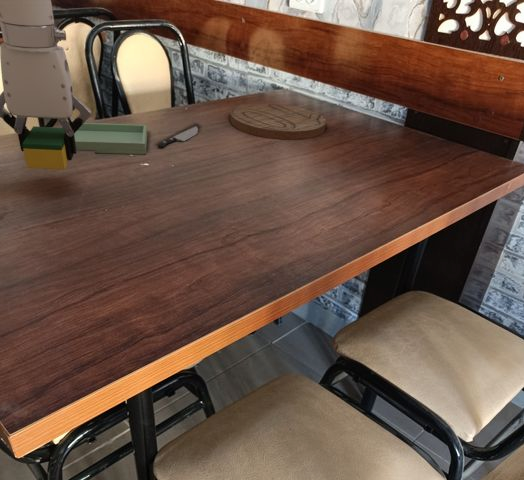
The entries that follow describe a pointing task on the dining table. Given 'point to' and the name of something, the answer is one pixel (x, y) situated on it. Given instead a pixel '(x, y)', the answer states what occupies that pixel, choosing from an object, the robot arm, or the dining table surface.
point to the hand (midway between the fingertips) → (50, 155)
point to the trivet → (277, 121)
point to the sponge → (45, 148)
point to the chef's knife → (180, 137)
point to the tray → (112, 138)
